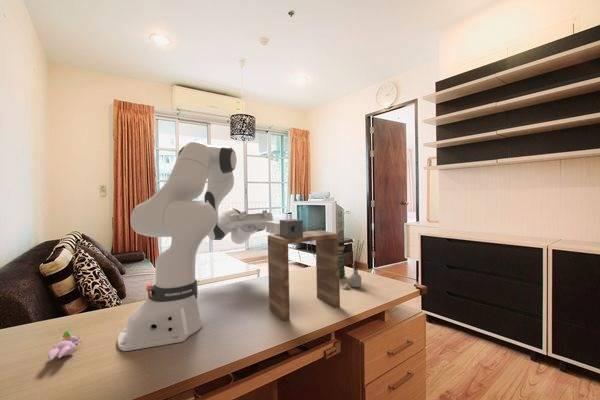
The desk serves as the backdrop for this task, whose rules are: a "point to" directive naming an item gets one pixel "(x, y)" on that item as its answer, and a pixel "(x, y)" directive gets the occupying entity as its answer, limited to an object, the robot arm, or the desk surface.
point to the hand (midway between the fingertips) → (255, 211)
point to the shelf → (324, 268)
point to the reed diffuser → (355, 272)
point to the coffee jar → (341, 258)
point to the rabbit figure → (64, 346)
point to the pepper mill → (286, 228)
